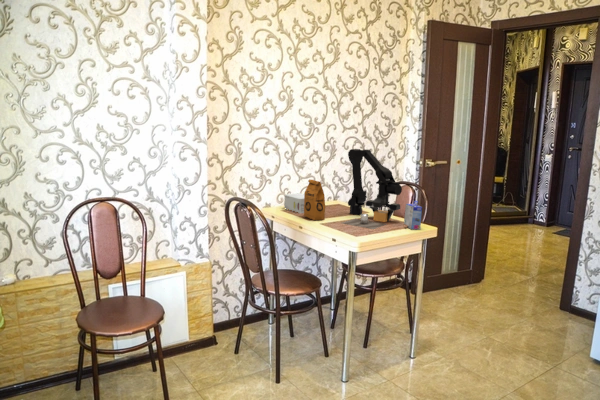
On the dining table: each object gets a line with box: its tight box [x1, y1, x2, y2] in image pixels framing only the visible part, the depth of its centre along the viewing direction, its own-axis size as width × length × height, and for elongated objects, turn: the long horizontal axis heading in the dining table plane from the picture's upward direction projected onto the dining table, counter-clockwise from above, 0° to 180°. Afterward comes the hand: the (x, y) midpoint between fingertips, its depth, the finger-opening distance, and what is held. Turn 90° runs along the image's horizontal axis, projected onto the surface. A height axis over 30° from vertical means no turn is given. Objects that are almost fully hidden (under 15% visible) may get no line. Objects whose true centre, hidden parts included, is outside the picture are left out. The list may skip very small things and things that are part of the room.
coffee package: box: [303, 179, 326, 221], centre depth 253 cm, size 10×12×22 cm
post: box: [360, 213, 369, 224], centre depth 240 cm, size 4×4×5 cm
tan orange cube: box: [373, 209, 392, 223], centre depth 250 cm, size 7×7×6 cm
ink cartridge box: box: [403, 200, 423, 230], centre depth 238 cm, size 10×6×14 cm, turn 11°
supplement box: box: [283, 192, 304, 214], centre depth 278 cm, size 17×13×9 cm
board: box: [341, 218, 388, 230], centre depth 240 cm, size 20×16×1 cm
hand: (382, 220), depth 250 cm, fingers closed on tan orange cube, 7 cm apart
